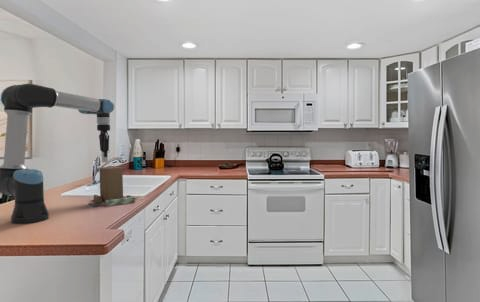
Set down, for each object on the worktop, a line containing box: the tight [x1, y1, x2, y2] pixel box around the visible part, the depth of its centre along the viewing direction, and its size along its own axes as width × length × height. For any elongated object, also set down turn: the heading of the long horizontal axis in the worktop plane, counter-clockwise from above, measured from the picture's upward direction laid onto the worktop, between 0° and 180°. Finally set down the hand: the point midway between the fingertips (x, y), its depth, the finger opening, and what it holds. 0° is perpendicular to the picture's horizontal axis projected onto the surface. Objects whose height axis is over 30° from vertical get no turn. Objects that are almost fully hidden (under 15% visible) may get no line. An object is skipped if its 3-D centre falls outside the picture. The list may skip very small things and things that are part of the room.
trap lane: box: [88, 194, 138, 208], centre depth 202 cm, size 27×25×3 cm
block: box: [98, 165, 124, 202], centre depth 205 cm, size 10×10×20 cm
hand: (104, 162), depth 213 cm, fingers closed
